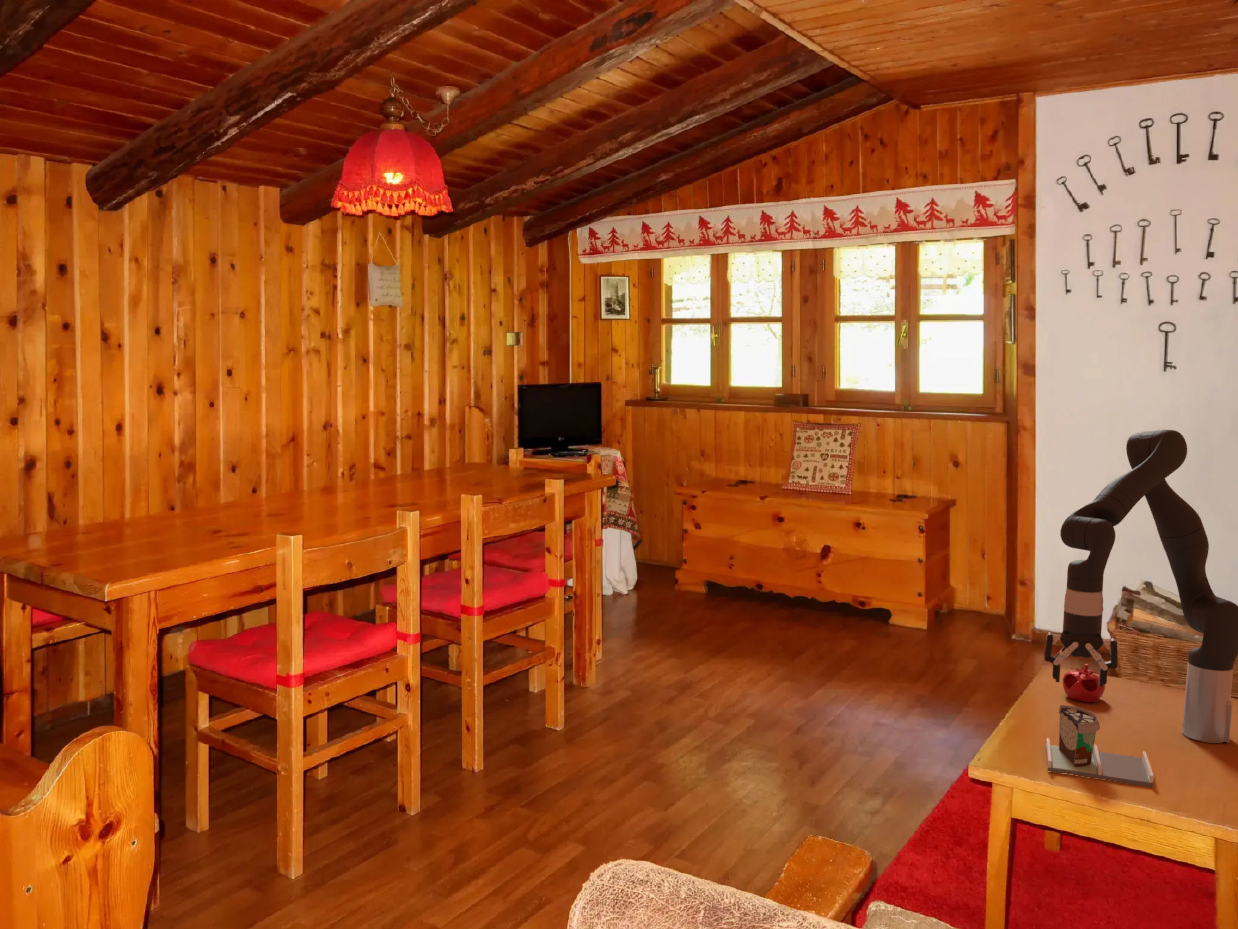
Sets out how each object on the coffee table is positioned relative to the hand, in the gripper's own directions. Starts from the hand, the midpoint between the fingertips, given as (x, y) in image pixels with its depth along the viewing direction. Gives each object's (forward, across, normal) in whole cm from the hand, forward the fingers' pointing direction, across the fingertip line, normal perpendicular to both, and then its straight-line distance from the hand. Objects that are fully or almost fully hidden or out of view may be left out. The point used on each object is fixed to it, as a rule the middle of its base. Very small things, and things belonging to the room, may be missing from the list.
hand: (1078, 683), depth 221 cm
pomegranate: (+18, -5, -48) cm, 52 cm away
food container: (+17, -1, -1) cm, 17 cm away
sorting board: (+18, -5, 0) cm, 19 cm away
